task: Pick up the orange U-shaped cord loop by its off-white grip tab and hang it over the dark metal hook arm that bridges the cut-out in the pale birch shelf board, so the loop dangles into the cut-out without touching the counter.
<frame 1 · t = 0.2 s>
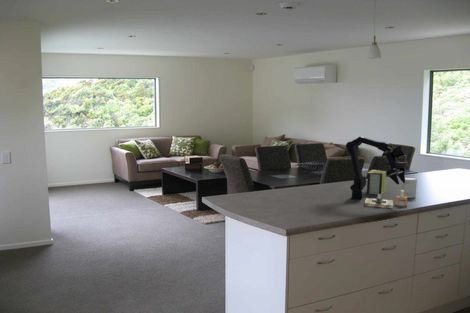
hand: (401, 183, 313), 15 cm above the worktop, tool tilted 30°, fingers open, 9 cm apart
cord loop: (401, 205, 320), on the worktop
hook shelf: (378, 204, 320), on the worktop
protein box: (375, 192, 358), on the worktop
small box: (408, 197, 346), on the worktop
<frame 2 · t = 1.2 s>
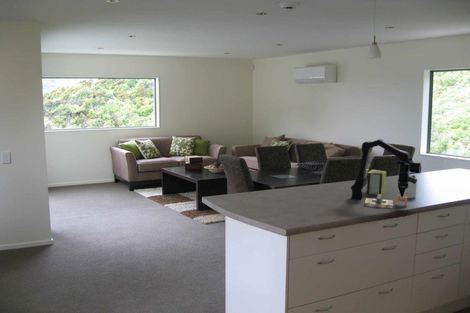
hand: (401, 195, 319), 6 cm above the worktop, tool pointing down, fingers open, 9 cm apart
nothing on the worktop moved.
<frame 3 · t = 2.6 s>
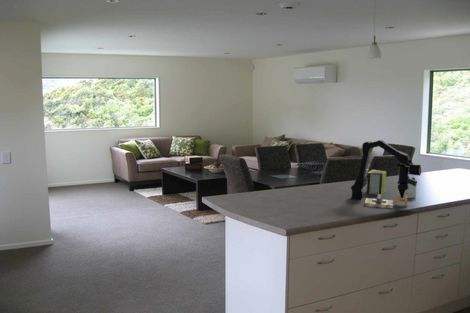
hand: (401, 197, 319), 5 cm above the worktop, tool pointing down, fingers closed on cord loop, 3 cm apart
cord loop: (401, 205, 320), on the worktop, touching gripper
everything else where it was.
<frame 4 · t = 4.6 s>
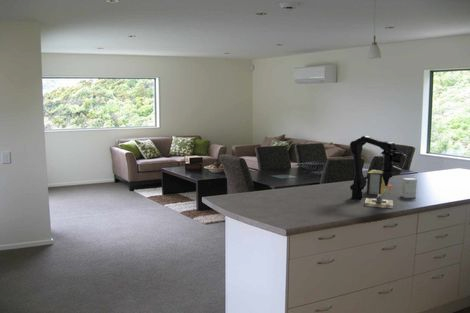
hand: (386, 185, 319), 13 cm above the worktop, tool pointing down, fingers closed on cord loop, 3 cm apart
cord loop: (385, 193, 319), point 8 cm above the worktop, touching gripper
everything else where it was.
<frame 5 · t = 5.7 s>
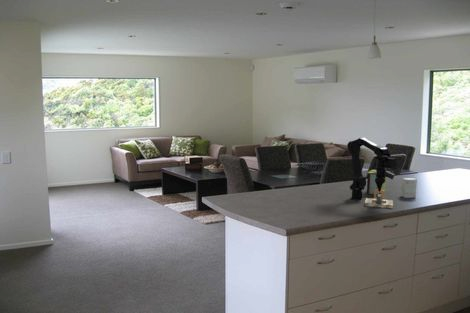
hand: (379, 190, 319), 9 cm above the worktop, tool pointing down, fingers closed on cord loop, 3 cm apart
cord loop: (379, 198, 320), point 4 cm above the worktop, touching gripper
everything else where it was.
when the fingers open (8 cm above the worktop, at t = 6.6 s): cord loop stays where it is, resting on hook shelf.
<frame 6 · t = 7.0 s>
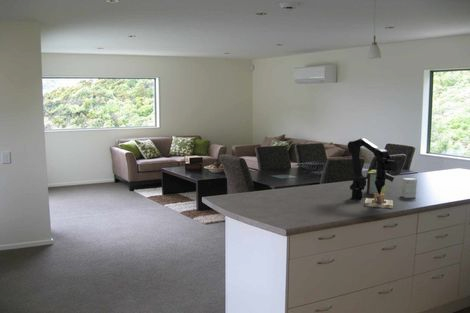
hand: (379, 193, 319), 8 cm above the worktop, tool pointing down, fingers open, 7 cm apart
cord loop: (378, 202, 320), point 1 cm above the worktop, touching hook shelf
everything else where it was.
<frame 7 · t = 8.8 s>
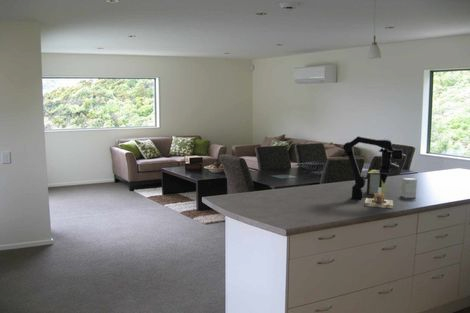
hand: (384, 182, 329), 13 cm above the worktop, tool pointing down, fingers open, 9 cm apart
nothing on the worktop moved.
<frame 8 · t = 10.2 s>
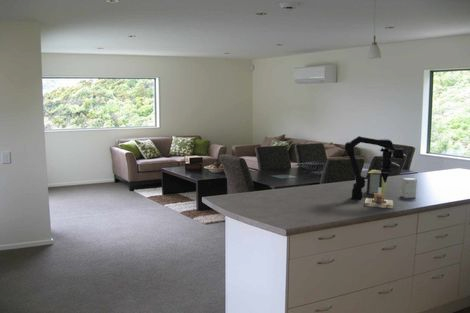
hand: (385, 181, 332), 13 cm above the worktop, tool pointing down, fingers open, 9 cm apart
nothing on the worktop moved.
at the end: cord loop 0.0 cm off-centre on the hook shelf, point 1.5 cm above the hook shelf's base; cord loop touching hook shelf; the gripper is holding nothing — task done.
